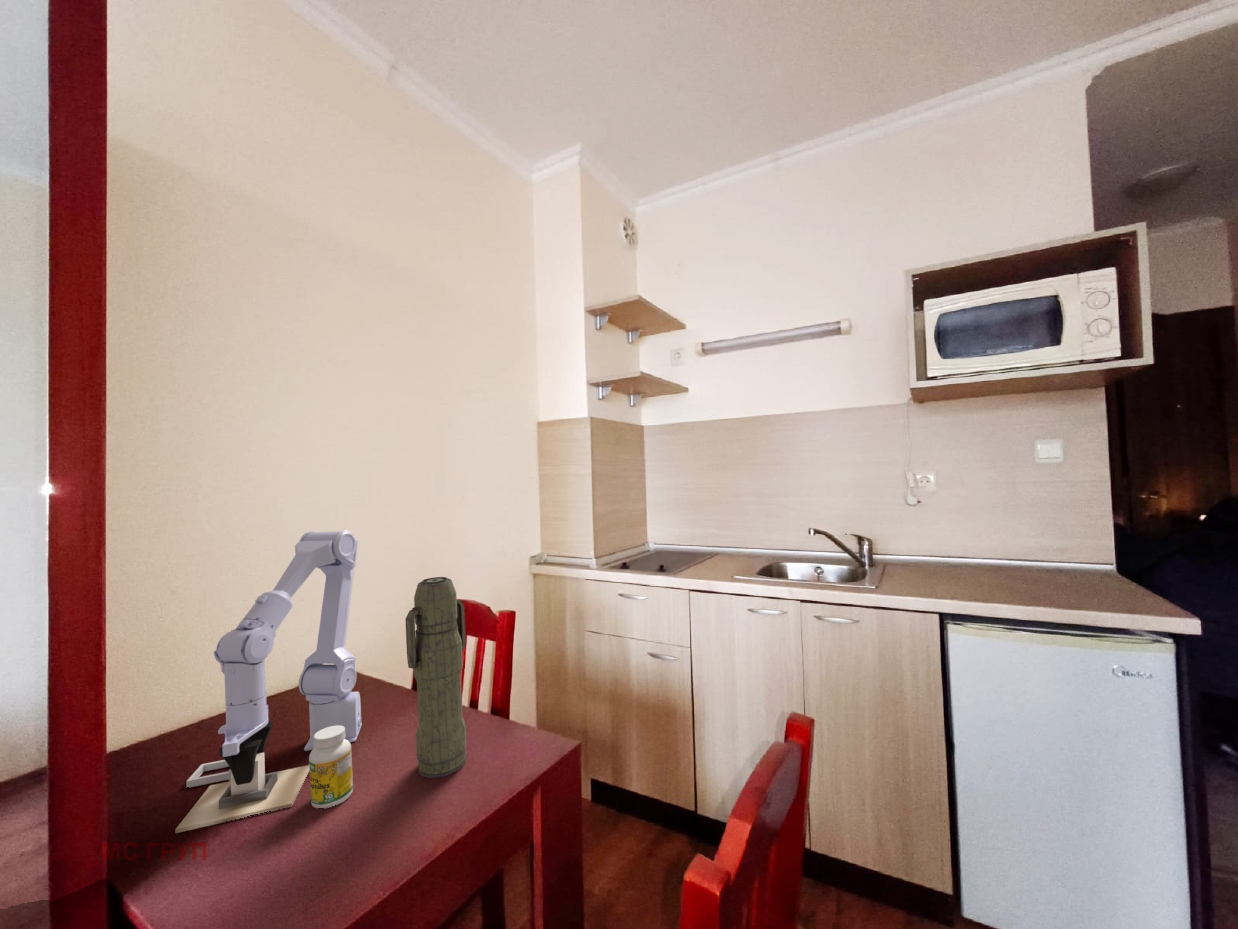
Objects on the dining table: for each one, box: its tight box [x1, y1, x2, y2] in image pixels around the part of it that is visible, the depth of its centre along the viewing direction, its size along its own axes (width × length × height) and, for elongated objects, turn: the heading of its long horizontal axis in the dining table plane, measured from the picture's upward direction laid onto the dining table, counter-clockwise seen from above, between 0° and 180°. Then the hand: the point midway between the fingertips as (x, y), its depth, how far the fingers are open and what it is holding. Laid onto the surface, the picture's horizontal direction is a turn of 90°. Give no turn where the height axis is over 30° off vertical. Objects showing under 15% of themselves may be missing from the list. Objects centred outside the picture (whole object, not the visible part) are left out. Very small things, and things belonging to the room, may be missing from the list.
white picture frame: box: [185, 759, 230, 789], centre depth 94 cm, size 7×6×1 cm
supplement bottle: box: [308, 725, 354, 809], centre depth 86 cm, size 6×6×11 cm
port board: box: [174, 764, 310, 834], centre depth 87 cm, size 16×12×2 cm
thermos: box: [405, 576, 467, 779], centre depth 95 cm, size 9×12×35 cm
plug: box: [228, 751, 266, 796], centre depth 87 cm, size 4×3×6 cm, turn 107°
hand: (249, 776), depth 87 cm, fingers open, 3 cm apart
